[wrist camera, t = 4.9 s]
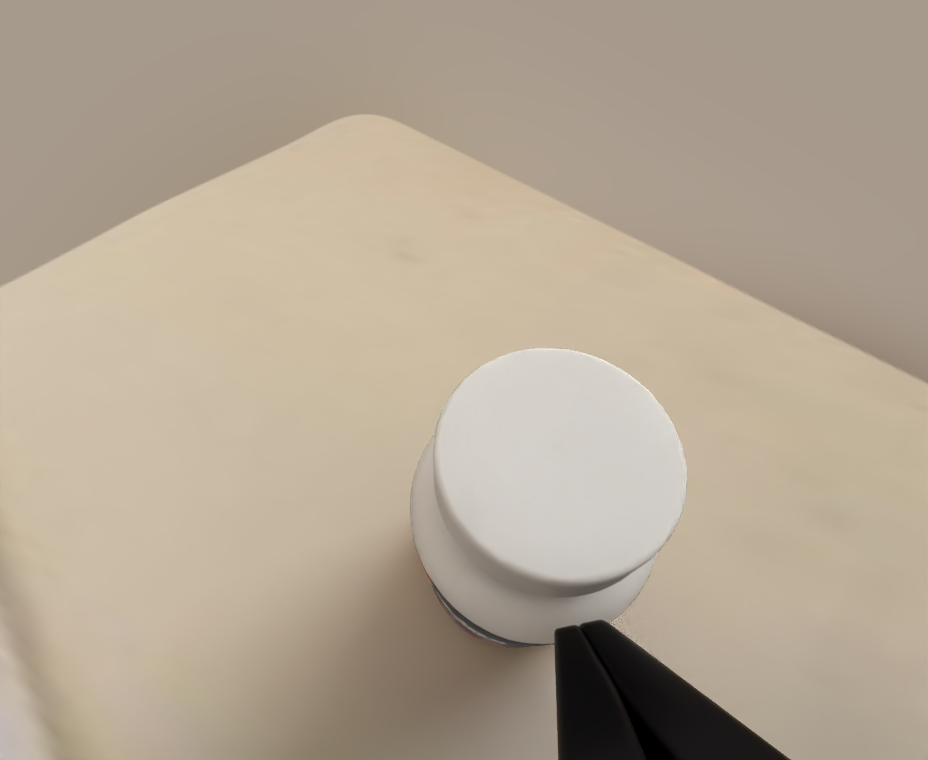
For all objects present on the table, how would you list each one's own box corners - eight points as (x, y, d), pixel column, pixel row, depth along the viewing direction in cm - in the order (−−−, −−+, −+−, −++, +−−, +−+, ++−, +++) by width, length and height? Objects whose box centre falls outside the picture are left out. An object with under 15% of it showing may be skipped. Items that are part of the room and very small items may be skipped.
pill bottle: (398, 532, 15) (331, 403, 7) (520, 451, 16) (567, 276, 9) (491, 691, 12) (531, 743, 5) (623, 578, 14) (807, 487, 6)
